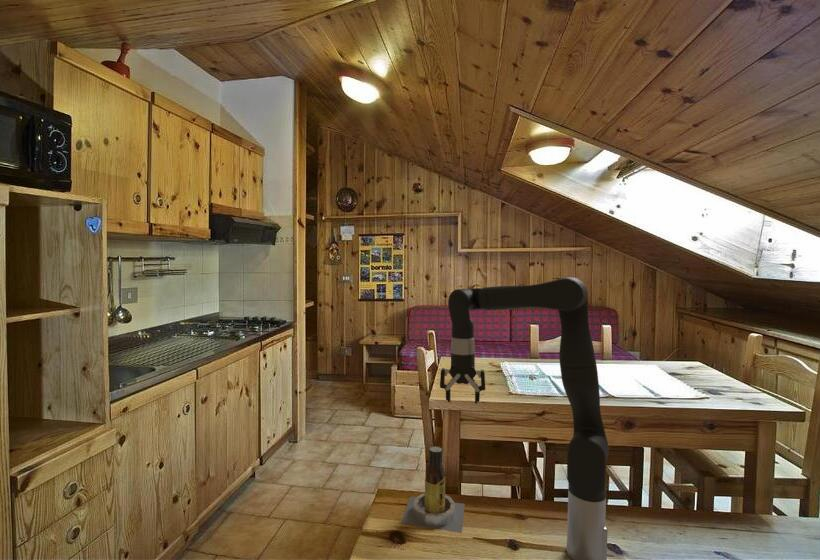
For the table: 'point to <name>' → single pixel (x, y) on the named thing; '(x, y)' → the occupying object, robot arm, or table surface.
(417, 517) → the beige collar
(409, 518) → the charcoal base
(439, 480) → the sauce bottle
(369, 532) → the table surface
